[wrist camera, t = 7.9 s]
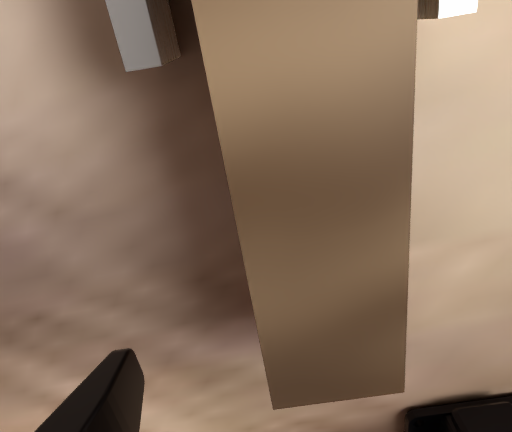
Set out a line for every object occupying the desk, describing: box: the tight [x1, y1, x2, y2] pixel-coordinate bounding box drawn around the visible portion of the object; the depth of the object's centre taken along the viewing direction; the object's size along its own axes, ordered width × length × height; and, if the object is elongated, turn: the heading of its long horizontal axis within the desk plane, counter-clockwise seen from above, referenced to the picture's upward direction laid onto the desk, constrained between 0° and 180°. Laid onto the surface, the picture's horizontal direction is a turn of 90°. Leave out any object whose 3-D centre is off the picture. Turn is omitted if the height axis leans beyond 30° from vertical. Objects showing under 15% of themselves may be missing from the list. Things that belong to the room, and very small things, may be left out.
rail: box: [191, 0, 418, 410], centre depth 10 cm, size 14×4×4 cm, turn 9°
